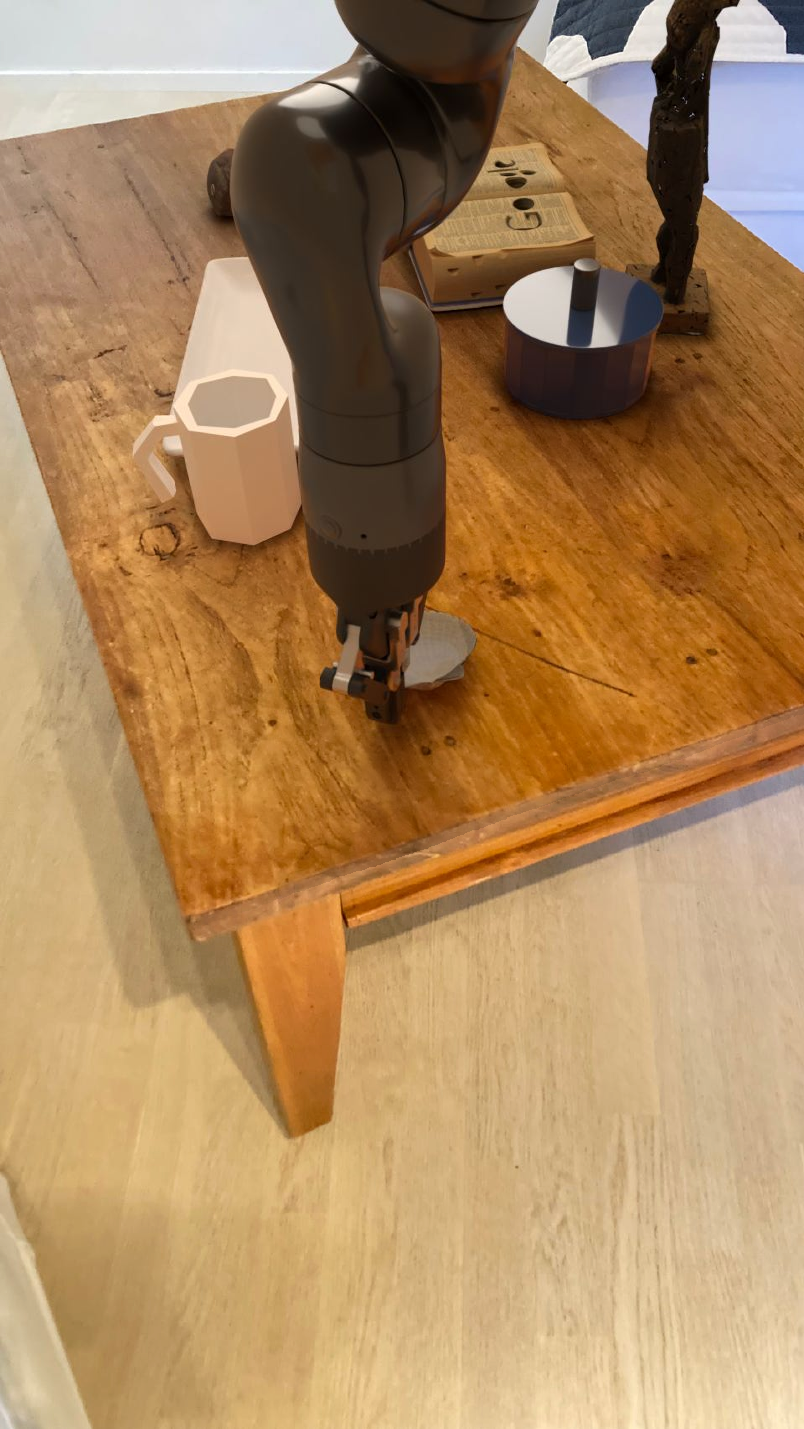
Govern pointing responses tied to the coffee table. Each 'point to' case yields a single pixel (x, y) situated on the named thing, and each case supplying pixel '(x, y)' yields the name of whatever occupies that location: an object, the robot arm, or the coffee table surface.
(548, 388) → the pot
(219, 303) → the white slab
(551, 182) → the book
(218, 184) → the dark brown rock
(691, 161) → the sculpture
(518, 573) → the coffee table surface
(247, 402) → the mug
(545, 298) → the pot lid
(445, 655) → the seashell
